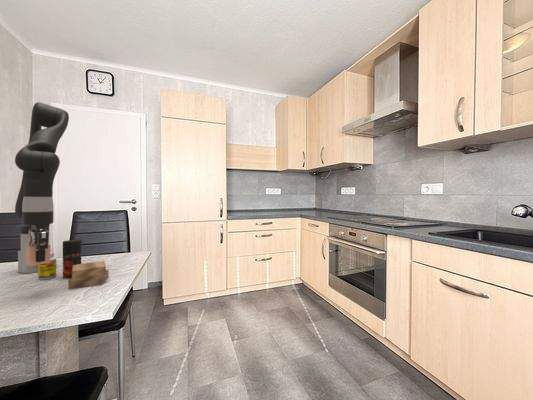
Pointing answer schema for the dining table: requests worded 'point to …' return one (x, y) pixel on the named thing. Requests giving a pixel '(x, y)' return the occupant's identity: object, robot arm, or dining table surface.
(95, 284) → the lower block
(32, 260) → the clay block
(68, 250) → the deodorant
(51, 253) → the supplement bottle
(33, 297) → the dining table surface
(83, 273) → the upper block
